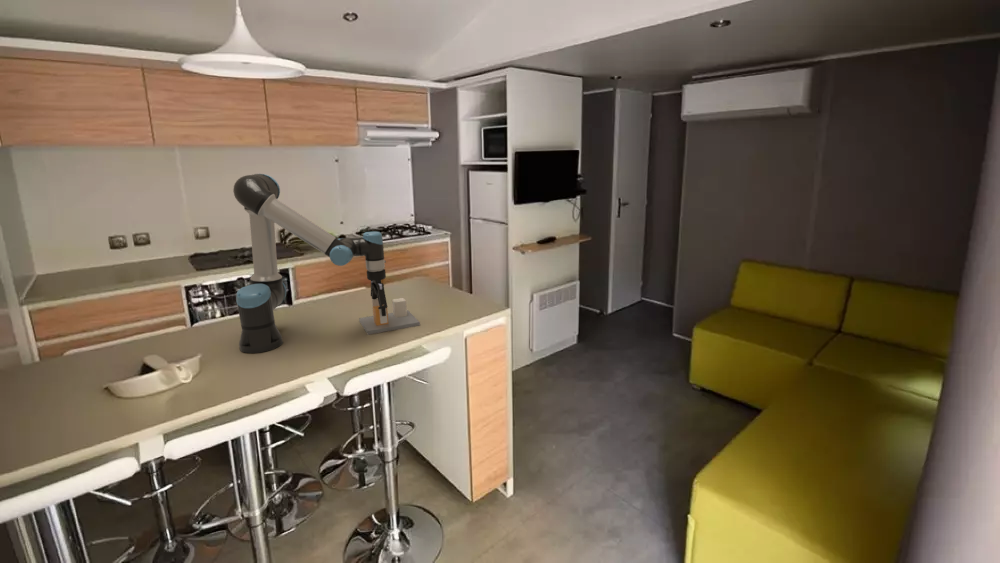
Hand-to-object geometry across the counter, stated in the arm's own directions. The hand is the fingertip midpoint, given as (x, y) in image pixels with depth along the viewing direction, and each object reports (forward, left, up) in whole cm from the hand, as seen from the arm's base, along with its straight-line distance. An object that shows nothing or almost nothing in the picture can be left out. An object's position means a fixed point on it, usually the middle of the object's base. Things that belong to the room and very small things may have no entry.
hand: (380, 318), depth 205 cm
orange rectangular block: (0, 0, -2) cm, 2 cm away
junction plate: (+4, +2, -4) cm, 6 cm away
